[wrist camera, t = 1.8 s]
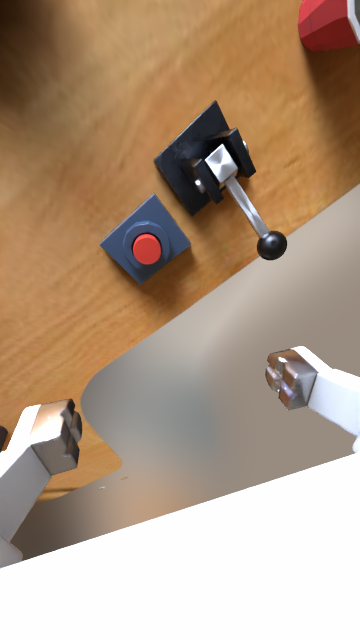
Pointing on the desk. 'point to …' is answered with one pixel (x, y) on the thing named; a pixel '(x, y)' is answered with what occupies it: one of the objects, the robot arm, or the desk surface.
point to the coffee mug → (2, 437)
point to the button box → (145, 221)
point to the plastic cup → (329, 24)
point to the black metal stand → (202, 159)
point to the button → (147, 249)
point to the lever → (245, 204)
